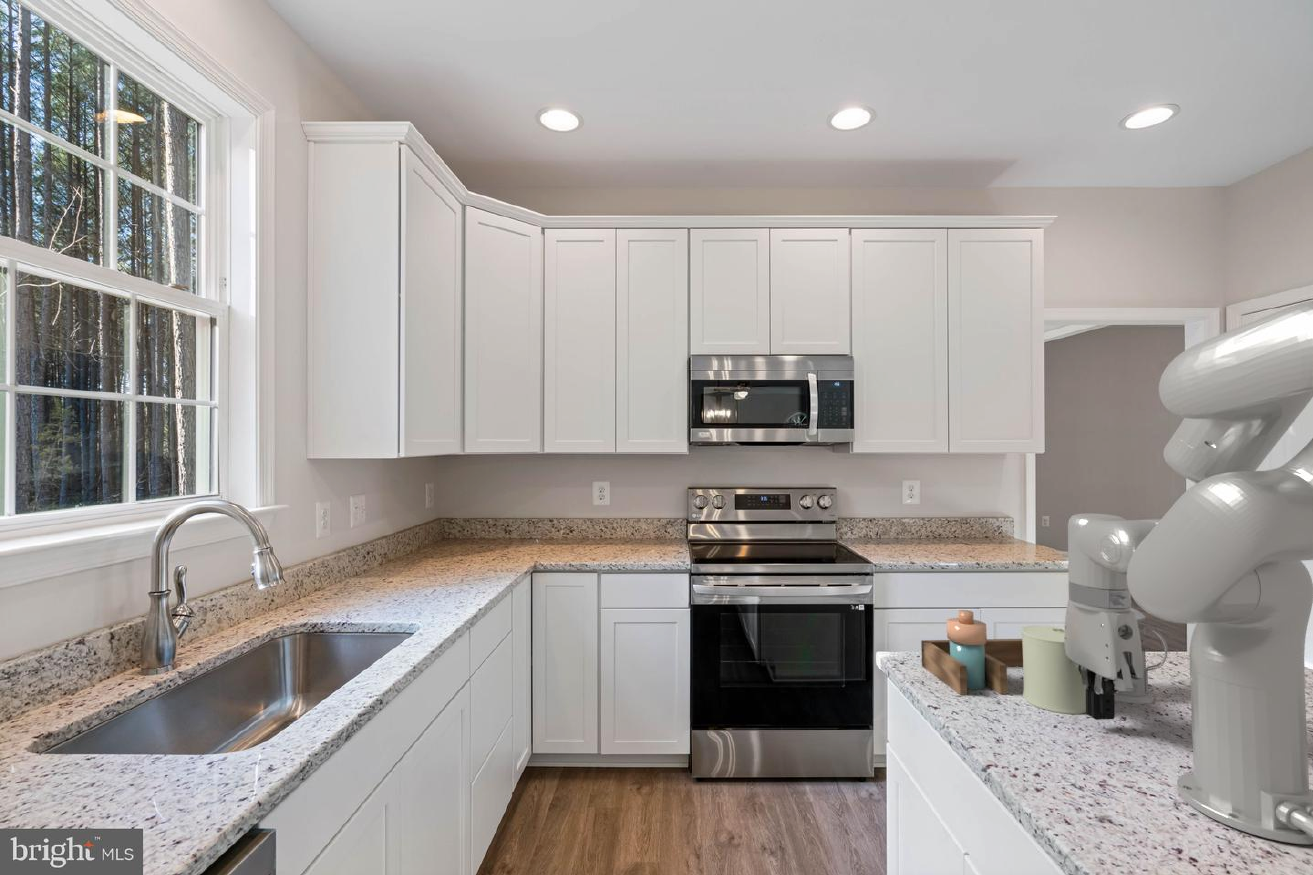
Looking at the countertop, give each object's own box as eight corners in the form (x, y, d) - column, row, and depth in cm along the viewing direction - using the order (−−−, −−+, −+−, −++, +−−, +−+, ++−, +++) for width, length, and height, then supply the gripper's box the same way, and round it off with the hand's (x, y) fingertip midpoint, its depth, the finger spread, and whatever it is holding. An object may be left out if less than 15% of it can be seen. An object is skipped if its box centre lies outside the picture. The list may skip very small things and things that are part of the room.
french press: (1088, 676, 109) (1084, 542, 109) (1171, 694, 100) (1166, 549, 101) (1078, 692, 102) (1074, 549, 102) (1166, 712, 93) (1161, 556, 94)
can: (1092, 701, 98) (1090, 629, 98) (1085, 719, 91) (1082, 642, 92) (1029, 686, 104) (1027, 619, 105) (1017, 703, 97) (1015, 631, 98)
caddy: (1081, 692, 101) (1080, 663, 101) (960, 694, 101) (959, 665, 101) (1028, 663, 115) (1027, 638, 115) (921, 665, 115) (921, 640, 115)
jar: (992, 689, 103) (990, 643, 103) (961, 689, 103) (960, 644, 103) (974, 677, 109) (973, 634, 109) (944, 677, 109) (943, 634, 109)
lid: (994, 644, 103) (993, 616, 103) (958, 645, 103) (957, 616, 103) (974, 633, 109) (973, 606, 110) (940, 634, 109) (939, 607, 109)
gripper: (1167, 610, 81) (1169, 742, 81) (1085, 583, 96) (1086, 694, 95) (1114, 610, 80) (1116, 743, 80) (1040, 584, 95) (1041, 695, 95)
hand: (1100, 716), depth 88 cm, fingers closed
